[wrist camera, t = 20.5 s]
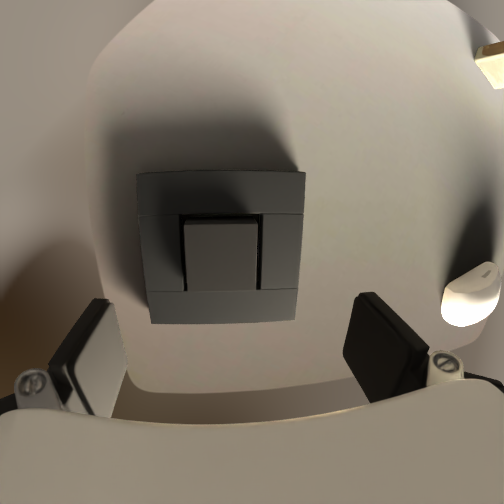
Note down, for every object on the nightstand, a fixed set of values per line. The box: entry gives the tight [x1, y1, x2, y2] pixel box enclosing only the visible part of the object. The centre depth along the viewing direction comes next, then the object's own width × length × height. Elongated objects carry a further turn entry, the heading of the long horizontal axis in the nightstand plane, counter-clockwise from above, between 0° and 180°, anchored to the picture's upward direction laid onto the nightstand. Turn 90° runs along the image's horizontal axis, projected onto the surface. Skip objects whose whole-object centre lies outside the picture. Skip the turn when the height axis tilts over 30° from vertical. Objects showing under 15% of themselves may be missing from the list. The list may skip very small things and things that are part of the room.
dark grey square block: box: [184, 216, 258, 292], centre depth 26 cm, size 6×6×3 cm
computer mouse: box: [442, 262, 501, 326], centre depth 31 cm, size 6×13×6 cm, turn 107°
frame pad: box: [137, 170, 306, 324], centre depth 26 cm, size 15×15×2 cm
